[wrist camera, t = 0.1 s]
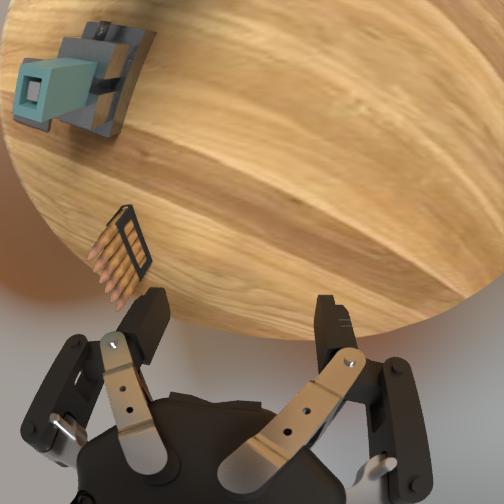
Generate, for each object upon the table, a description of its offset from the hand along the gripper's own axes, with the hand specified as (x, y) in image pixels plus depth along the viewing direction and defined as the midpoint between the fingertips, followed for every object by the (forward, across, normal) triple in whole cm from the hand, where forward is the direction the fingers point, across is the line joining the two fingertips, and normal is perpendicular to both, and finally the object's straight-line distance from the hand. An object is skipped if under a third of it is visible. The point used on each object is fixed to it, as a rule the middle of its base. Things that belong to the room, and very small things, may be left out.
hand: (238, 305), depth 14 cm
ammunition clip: (+24, +19, +7) cm, 32 cm away
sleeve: (+13, +19, -16) cm, 28 cm away
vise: (+20, +19, -17) cm, 32 cm away
